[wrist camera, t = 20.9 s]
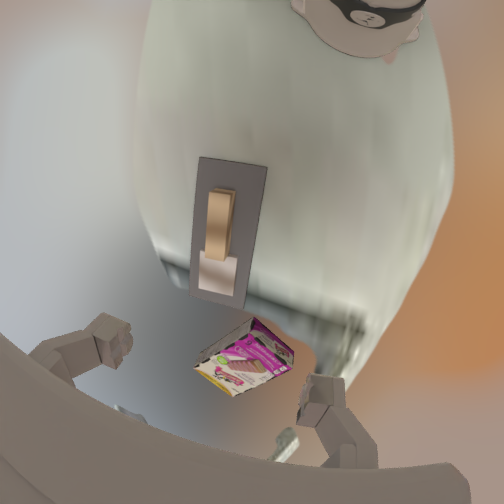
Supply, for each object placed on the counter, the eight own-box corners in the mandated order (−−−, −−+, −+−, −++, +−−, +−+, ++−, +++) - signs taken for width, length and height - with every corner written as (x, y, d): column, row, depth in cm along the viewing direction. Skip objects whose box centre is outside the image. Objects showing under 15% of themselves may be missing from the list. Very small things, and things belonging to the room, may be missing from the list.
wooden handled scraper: (206, 186, 40) (199, 190, 37) (246, 192, 39) (241, 196, 37) (200, 285, 47) (194, 294, 44) (234, 293, 46) (229, 302, 44)
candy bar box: (293, 370, 45) (233, 398, 52) (295, 351, 50) (238, 381, 57) (247, 333, 43) (191, 368, 50) (253, 314, 48) (199, 351, 55)
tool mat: (200, 157, 39) (199, 157, 38) (267, 167, 38) (266, 167, 37) (190, 293, 49) (188, 295, 49) (243, 307, 48) (243, 309, 47)
